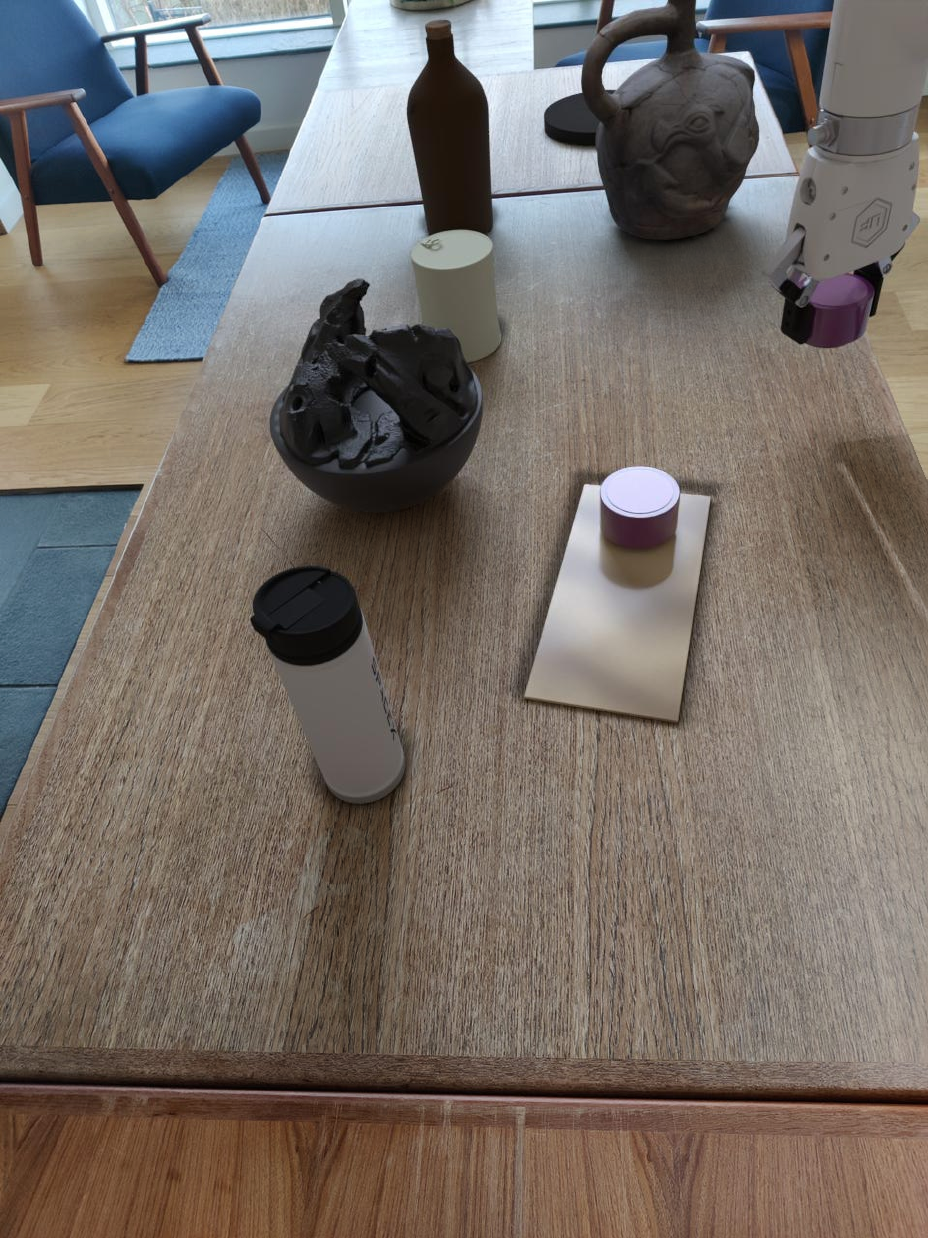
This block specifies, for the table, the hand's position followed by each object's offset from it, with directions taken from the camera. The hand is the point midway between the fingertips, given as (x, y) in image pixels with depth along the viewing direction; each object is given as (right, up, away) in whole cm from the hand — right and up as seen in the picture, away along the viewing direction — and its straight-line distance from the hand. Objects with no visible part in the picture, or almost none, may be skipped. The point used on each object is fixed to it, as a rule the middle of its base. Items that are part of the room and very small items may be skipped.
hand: (827, 322), depth 85 cm
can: (-35, +5, +21) cm, 41 cm away
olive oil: (-35, +27, +41) cm, 61 cm away
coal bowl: (-42, -15, +5) cm, 45 cm away
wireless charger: (-13, +53, +60) cm, 81 cm away
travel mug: (-42, -40, -17) cm, 61 cm away
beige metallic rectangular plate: (-21, -26, -8) cm, 34 cm away
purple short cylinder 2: (0, -1, +1) cm, 1 cm away
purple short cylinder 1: (-19, -20, -3) cm, 28 cm away
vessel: (-8, +25, +36) cm, 45 cm away
